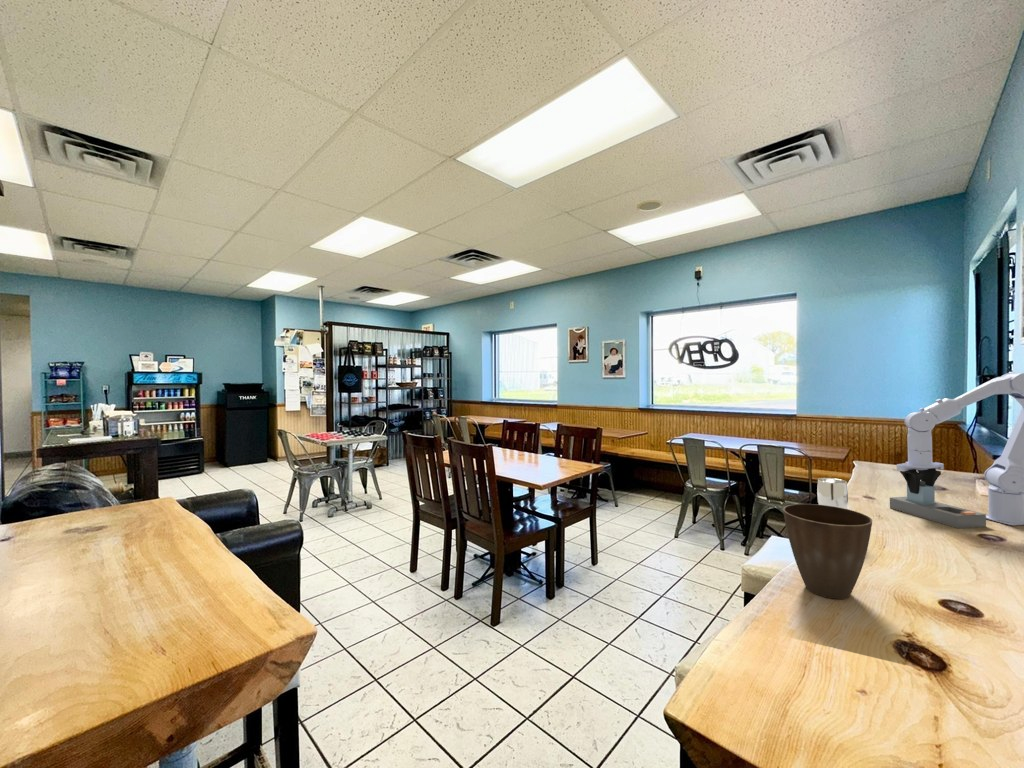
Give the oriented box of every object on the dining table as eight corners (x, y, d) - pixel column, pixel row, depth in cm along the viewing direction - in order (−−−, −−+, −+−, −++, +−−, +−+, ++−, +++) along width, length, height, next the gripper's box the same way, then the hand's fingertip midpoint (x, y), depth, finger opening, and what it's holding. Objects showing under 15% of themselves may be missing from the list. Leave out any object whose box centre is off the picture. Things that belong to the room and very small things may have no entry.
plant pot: (783, 569, 100) (782, 500, 100) (866, 583, 92) (864, 508, 92) (785, 597, 87) (784, 518, 87) (881, 616, 79) (880, 530, 79)
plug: (918, 501, 140) (918, 479, 140) (934, 506, 135) (934, 483, 135) (907, 502, 139) (906, 480, 139) (923, 506, 134) (923, 483, 134)
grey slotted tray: (914, 506, 144) (914, 494, 144) (986, 526, 124) (985, 512, 124) (889, 508, 143) (889, 495, 143) (958, 528, 123) (957, 513, 123)
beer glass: (838, 529, 124) (837, 477, 124) (855, 538, 117) (853, 483, 117) (812, 529, 125) (811, 477, 125) (827, 538, 118) (826, 483, 118)
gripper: (926, 447, 142) (927, 488, 142) (887, 449, 140) (887, 490, 140) (950, 450, 135) (951, 494, 135) (909, 452, 133) (909, 496, 133)
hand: (920, 492), depth 137 cm, fingers closed on plug, 4 cm apart
